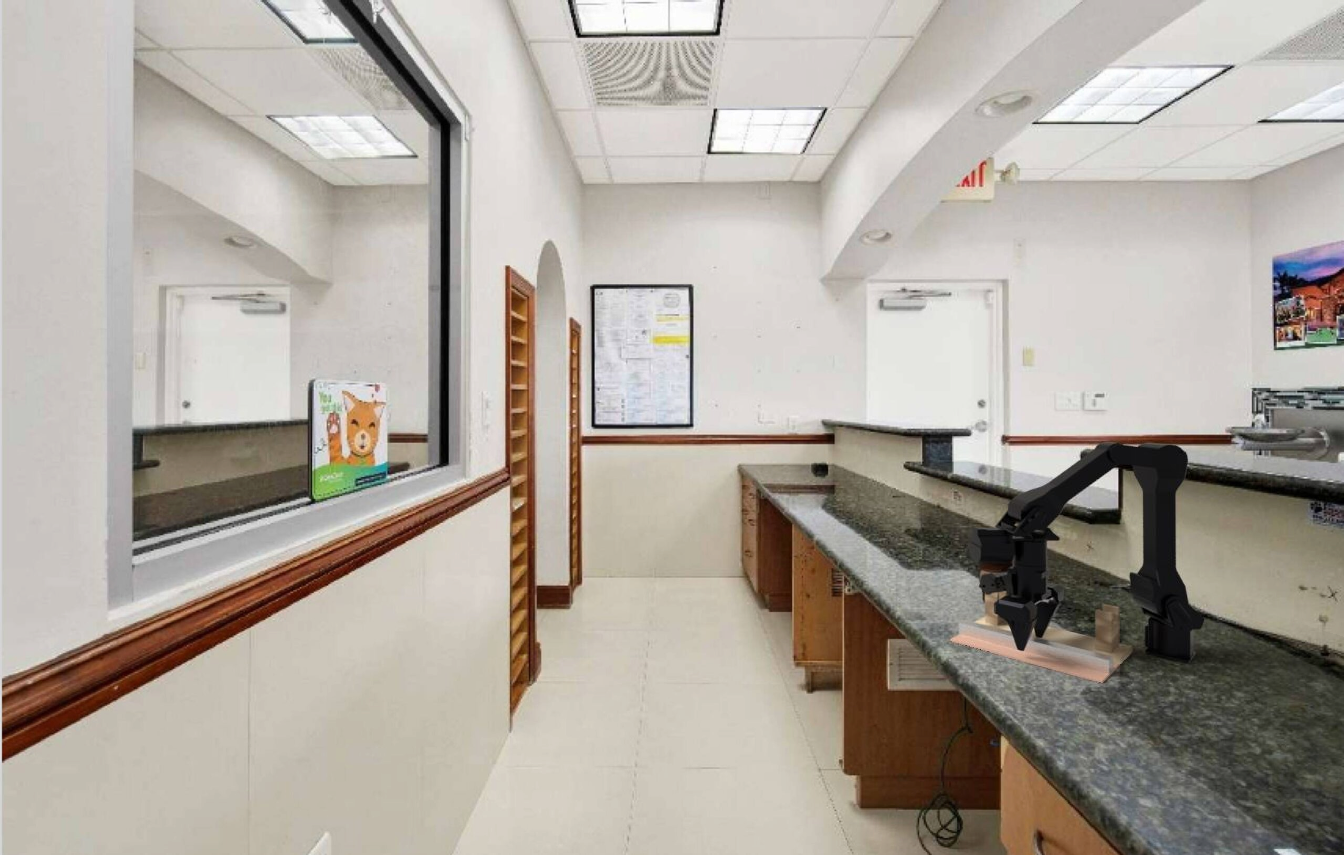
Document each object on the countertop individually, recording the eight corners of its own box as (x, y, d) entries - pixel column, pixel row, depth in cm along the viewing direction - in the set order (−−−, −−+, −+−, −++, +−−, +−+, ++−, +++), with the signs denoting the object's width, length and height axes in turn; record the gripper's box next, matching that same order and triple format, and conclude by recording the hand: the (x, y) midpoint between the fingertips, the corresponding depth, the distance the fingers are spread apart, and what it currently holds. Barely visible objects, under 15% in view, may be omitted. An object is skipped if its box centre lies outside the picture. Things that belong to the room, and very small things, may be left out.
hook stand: (1132, 652, 117) (1132, 607, 117) (1120, 664, 112) (1120, 617, 111) (989, 618, 137) (989, 580, 136) (974, 627, 131) (973, 587, 131)
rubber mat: (1119, 666, 111) (1119, 664, 111) (1102, 683, 104) (1102, 681, 104) (972, 628, 131) (971, 626, 131) (950, 641, 124) (950, 639, 124)
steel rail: (1112, 670, 109) (1112, 656, 108) (1108, 674, 107) (1108, 660, 107) (964, 631, 128) (964, 620, 128) (958, 634, 127) (958, 622, 127)
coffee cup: (1014, 611, 141) (1014, 555, 140) (974, 605, 146) (974, 550, 145) (1020, 601, 148) (1020, 547, 147) (982, 595, 153) (982, 543, 152)
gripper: (1004, 548, 129) (1004, 621, 130) (964, 564, 117) (965, 645, 118) (1064, 557, 121) (1064, 635, 121) (1028, 575, 109) (1029, 662, 109)
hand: (1030, 643), depth 118 cm, fingers open, 9 cm apart
